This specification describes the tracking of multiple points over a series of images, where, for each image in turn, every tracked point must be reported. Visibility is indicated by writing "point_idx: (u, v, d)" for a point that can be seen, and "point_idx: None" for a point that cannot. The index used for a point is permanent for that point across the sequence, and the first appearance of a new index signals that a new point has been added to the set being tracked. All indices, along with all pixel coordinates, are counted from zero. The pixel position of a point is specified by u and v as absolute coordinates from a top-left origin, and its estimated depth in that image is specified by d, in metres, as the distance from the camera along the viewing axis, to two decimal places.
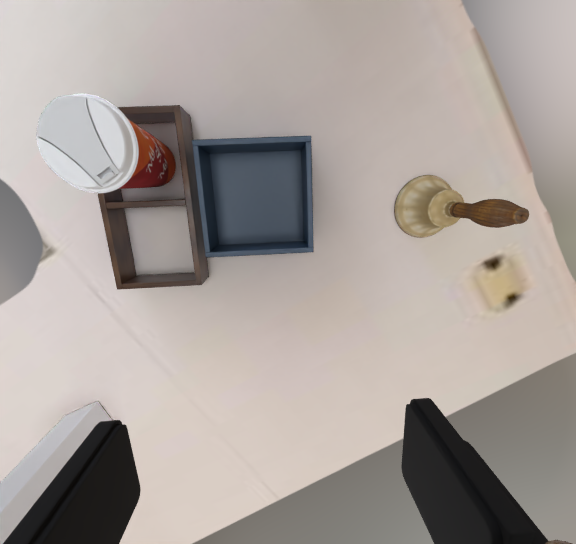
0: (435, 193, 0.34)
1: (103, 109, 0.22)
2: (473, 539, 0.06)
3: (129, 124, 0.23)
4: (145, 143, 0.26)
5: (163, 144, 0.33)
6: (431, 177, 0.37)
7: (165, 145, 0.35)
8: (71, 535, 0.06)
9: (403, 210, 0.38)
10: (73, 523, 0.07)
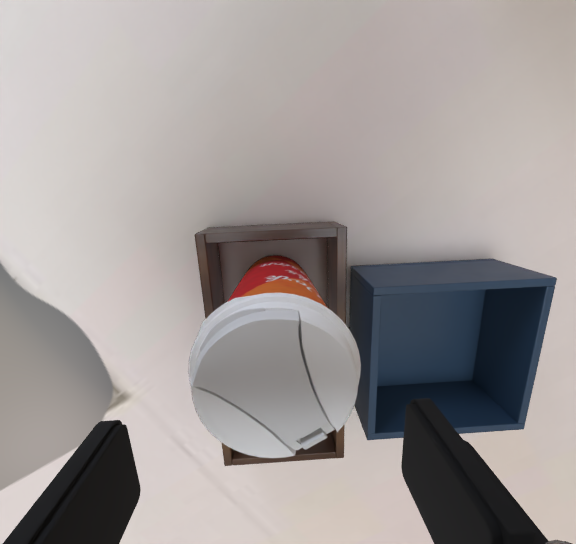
0: None
1: (330, 338, 0.11)
2: (473, 539, 0.06)
3: (354, 342, 0.12)
4: None
5: (303, 270, 0.22)
6: None
7: None
8: (71, 535, 0.06)
9: None
10: (73, 523, 0.07)
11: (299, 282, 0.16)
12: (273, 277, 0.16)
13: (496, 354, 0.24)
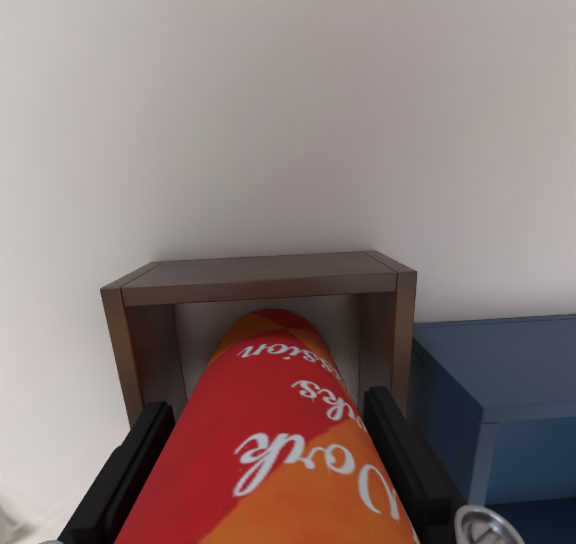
0: None
1: None
2: (405, 507, 0.07)
3: None
4: None
5: (323, 344, 0.12)
6: None
7: (314, 329, 0.13)
8: None
9: None
10: (139, 487, 0.07)
11: (335, 462, 0.06)
12: (261, 451, 0.05)
13: None
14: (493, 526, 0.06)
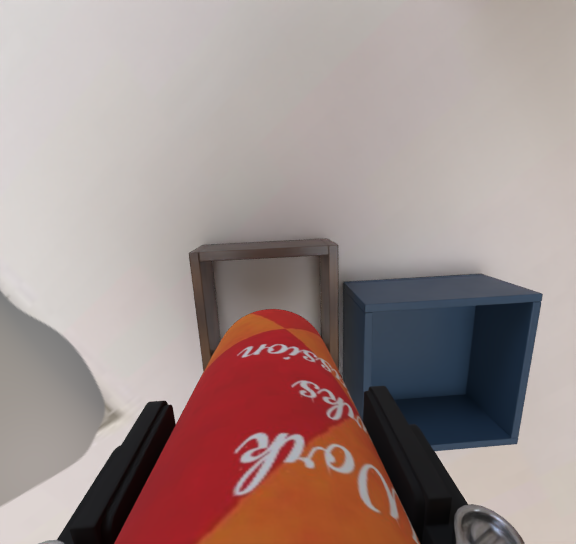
0: None
1: None
2: (405, 507, 0.07)
3: None
4: None
5: (322, 344, 0.12)
6: None
7: (313, 329, 0.13)
8: None
9: None
10: (139, 487, 0.07)
11: (335, 461, 0.06)
12: (261, 450, 0.05)
13: (488, 368, 0.25)
14: (493, 527, 0.06)
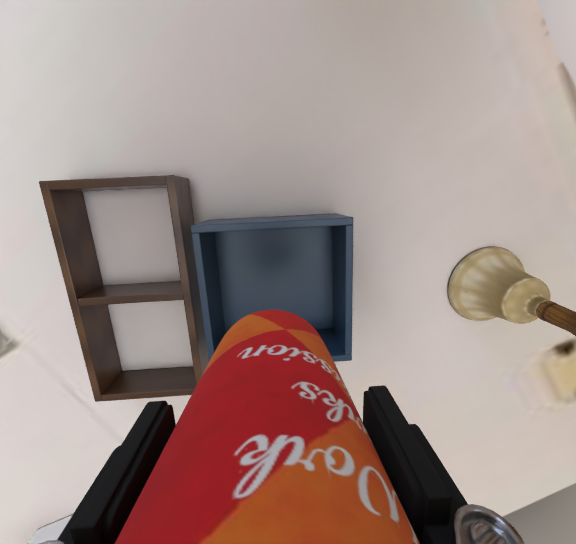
0: (512, 281, 0.26)
1: None
2: (405, 507, 0.07)
3: None
4: None
5: (322, 345, 0.12)
6: (497, 251, 0.29)
7: (313, 330, 0.13)
8: (138, 497, 0.07)
9: (460, 291, 0.30)
10: (139, 487, 0.07)
11: (335, 463, 0.06)
12: (260, 452, 0.05)
13: (337, 297, 0.27)
14: (492, 526, 0.06)
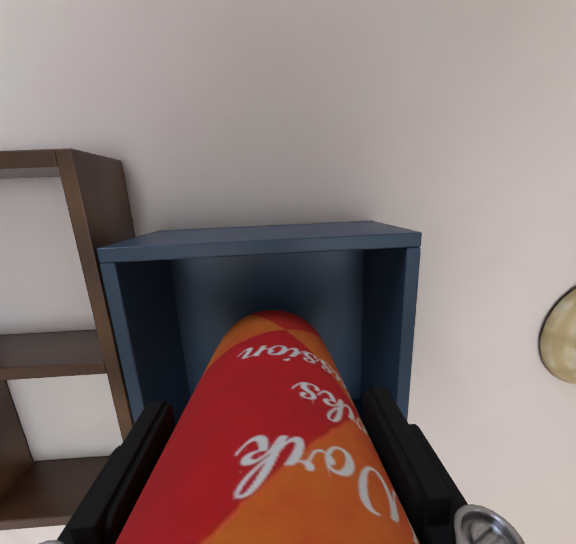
0: None
1: None
2: (405, 507, 0.07)
3: None
4: None
5: (323, 345, 0.12)
6: None
7: (313, 330, 0.13)
8: None
9: (566, 345, 0.19)
10: (139, 487, 0.07)
11: (335, 464, 0.06)
12: (261, 453, 0.05)
13: (373, 362, 0.16)
14: (493, 526, 0.06)
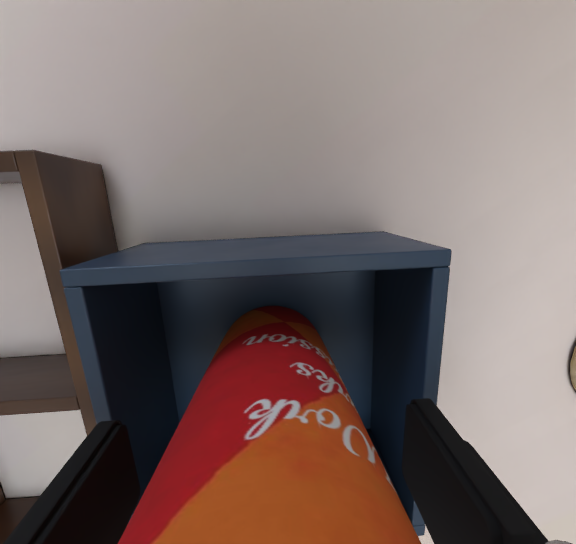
0: None
1: None
2: (473, 539, 0.06)
3: None
4: None
5: (318, 336, 0.14)
6: None
7: (310, 323, 0.15)
8: (71, 535, 0.06)
9: None
10: (73, 523, 0.07)
11: (324, 420, 0.07)
12: (265, 410, 0.07)
13: (387, 393, 0.14)
14: None
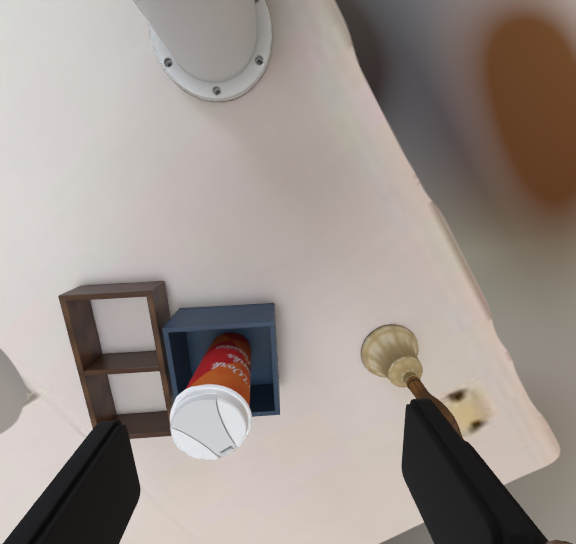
0: (395, 358, 0.36)
1: (230, 406, 0.25)
2: (473, 539, 0.06)
3: (246, 405, 0.26)
4: (248, 391, 0.30)
5: (245, 345, 0.37)
6: (394, 329, 0.39)
7: (244, 339, 0.38)
8: (71, 535, 0.06)
9: (368, 358, 0.40)
10: (73, 523, 0.07)
11: (230, 366, 0.30)
12: (216, 364, 0.30)
13: None
14: None
